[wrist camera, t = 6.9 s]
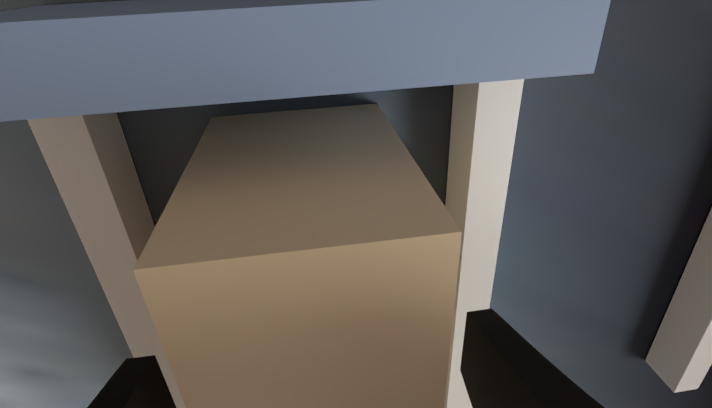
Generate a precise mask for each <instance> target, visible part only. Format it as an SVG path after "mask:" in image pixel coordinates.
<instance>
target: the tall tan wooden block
mask: <svg viewBox="0 0 712 408" xmlns="http://www.w3.org/2000/svg"><path fill="white" fill-rule="evenodd" d="M461 234H462V231H461V230H460V228H459V227H458V225H457V224H456V222H455V221H454V219H453V218H452V216H451V215H450V213H449V212H448V210H447V209H446V207H445V206H444V204H443V203H442V201H441V200H440V198H439V197H438V195H437V194H436V192H435V191H434V189H433V188H432V186H431V184H430V183H429V181H428V180H427V178H426V177H425V175H424V174H423V172H422V171H421V169H420V168H419V166H418V165H417V163H416V162H415V160H414V159H413V157H412V156H411V154H410V153H409V151H408V150H407V148H406V147H405V145H404V144H403V142H402V141H401V139H400V138H399V136H398V135H397V133H396V132H395V130H394V129H393V127H392V126H391V124H390V122H389V121H388V119H387V118H386V116H385V115H384V113H383V112H382V110H381V109H380V107H379V106H378V104H364V105H352V106H340V107H328V108H316V109H303V110H291V111H279V112H267V113H254V114H242V115H230V116H218V117H212V118H211V120H210V122H209V124H208V125H207V127H206V129H205V131H204V133H203V135H202V137H201V139H200V141H199V143H198V145H197V147H196V149H195V151H194V153H193V155H192V156H191V158H190V160H189V162H188V164H187V166H186V168H185V170H184V172H183V174H182V176H181V178H180V180H179V182H178V184H177V186H176V187H175V189H174V191H173V193H172V195H171V197H170V199H169V201H168V203H167V205H166V207H165V209H164V211H163V213H162V215H161V216H160V218H159V220H158V222H157V224H156V226H155V228H154V230H153V232H152V234H151V236H150V238H149V240H148V242H147V244H146V246H145V247H144V249H143V251H142V253H141V255H140V257H139V259H138V261H137V263H136V265H135V267H134V269H133V271H134V274H135V277H136V279H137V282H138V284H139V287H140V290H141V292H142V295H143V297H144V300H145V303H146V305H147V308H148V310H149V313H150V316H151V318H152V321H153V323H154V326H155V329H156V331H157V334H158V336H159V339H160V341H161V344H162V347H163V349H164V352H165V354H166V357H167V360H168V362H169V365H170V367H171V370H172V373H173V375H174V378H175V380H176V383H177V386H178V388H179V391H180V393H181V396H182V399H183V401H184V404H185V406H186V408H444V405H445V395H446V385H447V375H448V365H449V355H450V345H451V335H452V325H453V315H454V305H455V295H456V285H457V275H458V265H459V255H460V245H461Z"/></svg>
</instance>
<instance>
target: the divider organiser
mask: <svg viewBox="0 0 712 408" xmlns="http://www.w3.org/2000/svg"><path fill="white" fill-rule="evenodd" d="M610 1H611V0H126V1H109V2H91V3H73V4H56V5H39V6H33V7H26V8H19V9H12V10H5V11H0V122H5V121H17V120H27V121H28V123H29V126H30V128H31V130H32V132H33V134H34V137H35V139H36V141H37V143H38V146H39V148H40V150H41V152H42V155H43V157H44V159H45V161H46V163H47V166H48V168H49V170H50V172H51V175H52V177H53V179H54V181H55V184H56V186H57V188H58V190H59V193H60V195H61V197H62V199H63V201H64V204H65V206H66V208H67V210H68V213H69V215H70V217H71V219H72V222H73V224H74V226H75V228H76V230H77V233H78V235H79V237H80V239H81V242H82V244H83V246H84V248H85V251H86V253H87V255H88V257H89V259H90V262H91V264H92V266H93V268H94V271H95V273H96V275H97V277H98V280H99V282H100V284H101V286H102V288H103V291H104V293H105V295H106V297H107V300H108V302H109V304H110V306H111V309H112V311H113V313H114V315H115V317H116V320H117V322H118V324H119V326H120V329H121V331H122V333H123V335H124V338H125V340H126V342H127V344H128V347H129V349H130V351H131V353H132V355H133V358H137V357H144V356H152V355H155V357H156V359H157V361H158V364H159V366H160V369H161V371H162V374H163V376H164V378H165V381H166V383H167V386H168V388H169V391H170V393H171V396H172V398H173V400H174V403H175V405H176V408H186V406H185V404H184V401H183V399H182V396H181V393H180V391H179V388H178V386H177V383H176V380H175V378H174V375H173V373H172V370H171V367H170V365H169V362H168V360H167V357H166V354H165V352H164V349H163V347H162V344H161V341H160V339H159V336H158V334H157V331H156V329H155V326H154V323H153V321H152V318H151V316H150V313H149V310H148V308H147V305H146V303H145V300H144V297H143V295H142V292H141V290H140V287H139V284H138V282H137V279H136V277H135V274H134V271H133V269H134V267H135V265H136V263H137V261H138V259H139V257H140V255H141V253H142V251H143V249H144V247H145V246H146V244H147V242H148V240H149V238H150V236H151V234H152V232H153V230H154V228H155V226H154V223H153V220H152V217H151V214H150V211H149V208H148V205H147V202H146V199H145V196H144V193H143V190H142V187H141V184H140V181H139V178H138V175H137V172H136V169H135V166H134V163H133V160H132V157H131V154H130V151H129V148H128V145H127V142H126V139H125V137H124V134H123V131H122V128H121V125H120V122H119V119H118V116H117V113H116V112H127V111H139V110H152V109H164V108H176V107H188V106H200V105H213V104H225V103H237V102H249V101H261V100H274V99H286V98H298V97H310V96H323V95H335V94H347V93H359V92H371V91H384V90H396V89H408V88H420V87H432V86H445V85H454V90H453V104H452V118H451V132H450V147H449V161H448V175H447V189H446V203H445V207H446V209H447V210H448V212H449V213H450V215H451V216H452V218H453V219H454V221H455V222H456V224H457V225H458V227H459V228H460V230H461V231H462V234H461V245H460V255H459V265H458V275H457V285H456V295H455V305H454V315H453V325H452V335H451V345H450V355H449V365H448V375H447V385H446V395H445V405H444V408H473V407H472V404H471V402H470V399H469V396H468V393H467V390H466V387H465V383H464V380H463V377H462V374H461V371H460V367H461V358H462V349H463V341H464V332H465V324H466V315H467V312H470V311H477V310H484V309H489V307H490V300H491V293H492V287H493V280H494V274H495V267H496V260H497V254H498V247H499V241H500V234H501V227H502V221H503V214H504V208H505V201H506V194H507V188H508V181H509V175H510V168H511V161H512V155H513V148H514V142H515V135H516V128H517V122H518V115H519V109H520V102H521V96H522V89H523V82H524V79H530V78H542V77H555V76H567V75H579V74H591V73H594V70H595V66H596V62H597V57H598V53H599V49H600V44H601V40H602V36H603V31H604V27H605V23H606V19H607V14H608V10H609V6H610ZM645 361H646V362H647V364H648V365H649V366H650V367H651V368H652V369H653V370H654V371H655V372H656V373H657V375H658V376H659V377H660V378H661V379H662V380H663V381H664V382H665V383H666V384H667V386H668V387H669V388H670V389H671V390H672V391H673V392H674V393H676V392H682V391H688V390H694V389H698V388H699V386H700V384H701V382H702V381H703V379H704V377H705V375H706V373H707V372H708V370H709V368H710V366H711V364H712V208H711V210H710V213H709V215H708V217H707V219H706V222H705V224H704V226H703V229H702V231H701V233H700V236H699V238H698V240H697V242H696V245H695V247H694V249H693V252H692V254H691V256H690V258H689V261H688V263H687V265H686V268H685V270H684V272H683V275H682V277H681V279H680V281H679V284H678V286H677V288H676V291H675V293H674V295H673V298H672V300H671V302H670V304H669V307H668V309H667V311H666V314H665V316H664V318H663V321H662V323H661V325H660V327H659V330H658V332H657V334H656V337H655V339H654V341H653V344H652V346H651V348H650V350H649V353H648V355H647V357H646V360H645Z"/></svg>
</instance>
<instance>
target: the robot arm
mask: <svg viewBox="0 0 712 408" xmlns="http://www.w3.org/2000/svg"><path fill="white" fill-rule="evenodd" d="M460 371H461V374H462V377H463V380H464V383H465V387H466V390H467V393H468V396H469V399H470V402H471V404H472V407H473V408H604V407H603V406H602V405H600V404H599V403H598V402H597V401H595V400H594V399H593V398H592V397H591V396H589V395H588V394H587V393H586V392H584V391H583V390H582V389H581V388H580V387H578V386H577V385H576V384H575V383H574V382H573V381H571V380H570V379H569V378H568V377H567V376H566V375H564V374H563V373H562V372H561V371H560V370H559V369H557V368H556V367H555V366H554V365H553V364H552V363H551V362H549V361H548V360H547V359H546V358H545V357H544V356H543V355H542V354H540V353H539V352H538V351H537V350H536V349H535V348H534V347H533V346H532V345H531V344H529V343H528V342H527V341H526V340H525V339H524V338H523V337H522V336H521V335H520V334H519V333H517V332H516V331H515V330H514V329H513V328H512V327H511V326H510V325H509V324H508V323H507V322H506V321H505V320H504V319H502V318H501V317H500V316H499V315H498V314H497V313H496V312H495V311H494V310H492V309H484V310H477V311H470V312H467V315H466V324H465V332H464V341H463V349H462V358H461V367H460ZM87 408H176V405H175V403H174V400H173V398H172V396H171V393H170V391H169V388H168V386H167V383H166V381H165V378H164V376H163V374H162V371H161V369H160V366H159V364H158V361H157V359H156V357H155V355H152V356H144V357H137V358H130V359H126V360H125V361H124V362H123V364H122V365H121V366H120V367H119V368H118V370H117V371H116V372H115V373H114V375H113V376H112V377H111V378H110V380H109V381H108V382H107V383H106V385H105V386H104V387H103V388H102V390H101V391H100V392H99V394H98V395H97V396H96V397H95V399H94V400H93V401H92V402H91V404H90V405H89V406H88V407H87Z"/></svg>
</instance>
